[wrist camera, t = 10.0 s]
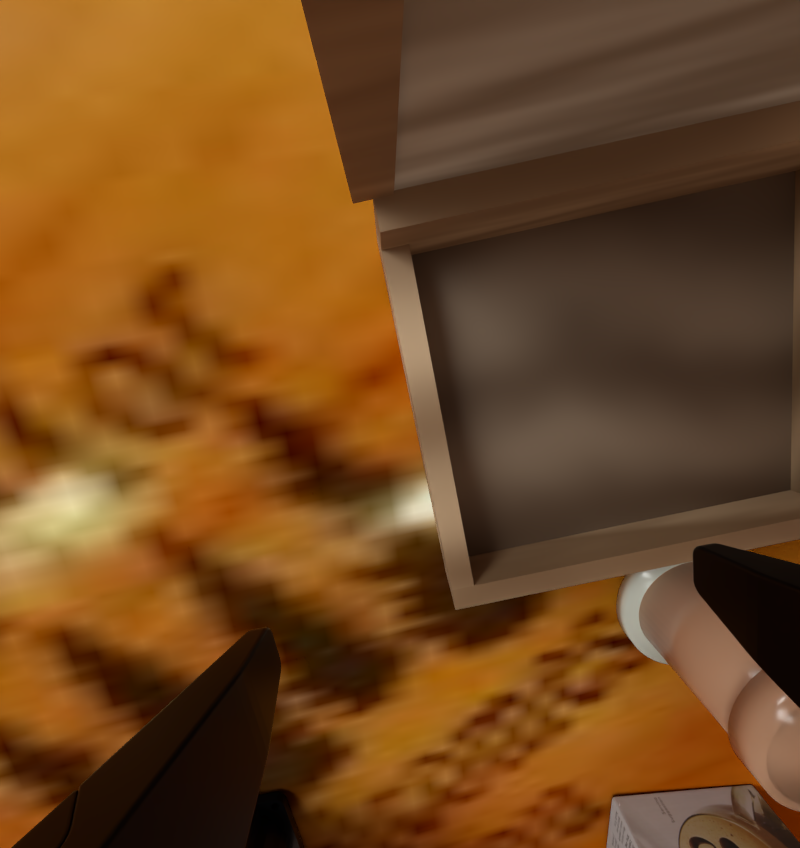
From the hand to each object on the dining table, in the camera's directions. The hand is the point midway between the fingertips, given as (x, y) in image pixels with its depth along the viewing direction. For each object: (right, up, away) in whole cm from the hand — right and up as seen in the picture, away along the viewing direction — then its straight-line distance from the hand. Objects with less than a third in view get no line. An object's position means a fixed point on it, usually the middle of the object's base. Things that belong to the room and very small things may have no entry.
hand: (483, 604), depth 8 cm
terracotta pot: (+13, -6, +12) cm, 19 cm away
